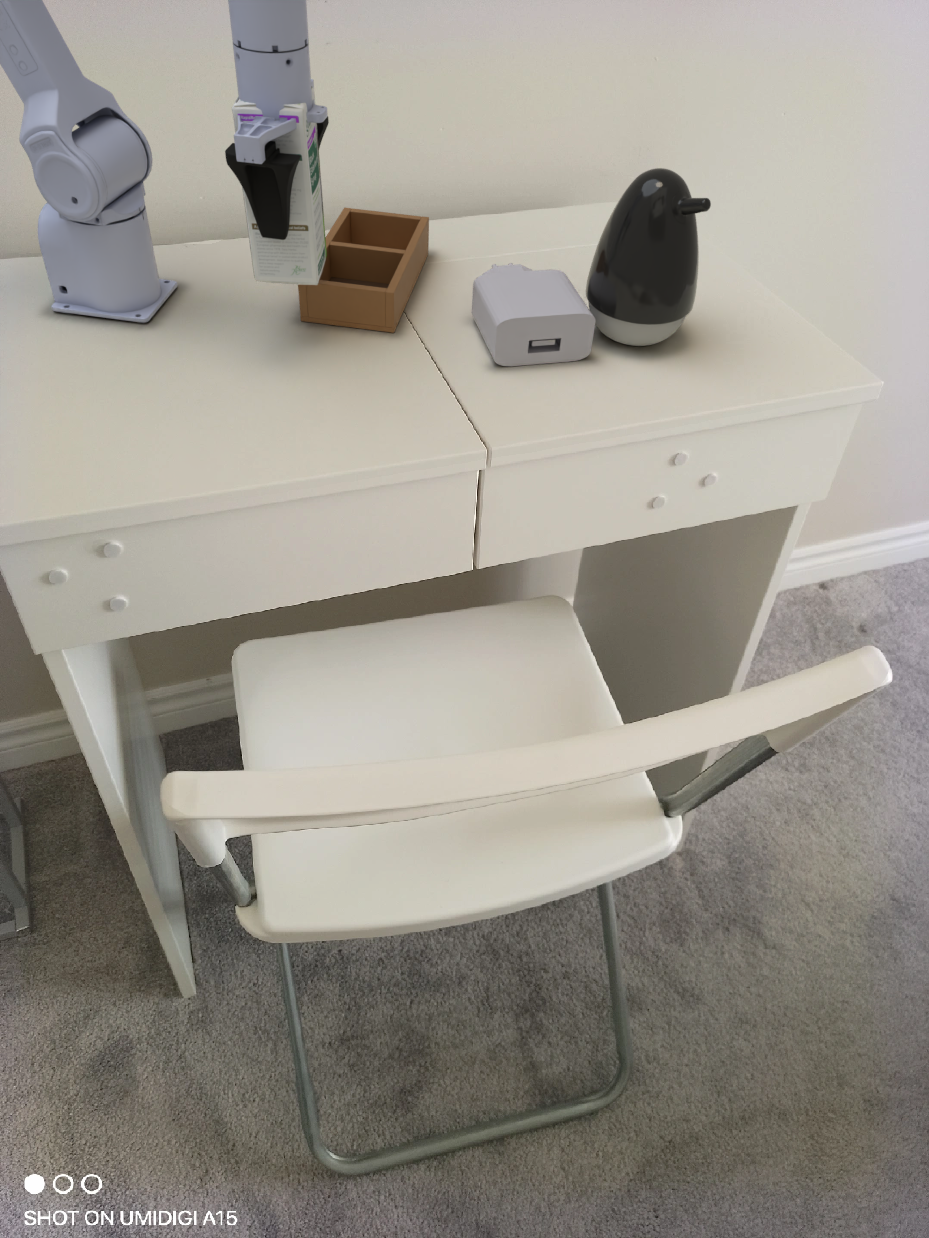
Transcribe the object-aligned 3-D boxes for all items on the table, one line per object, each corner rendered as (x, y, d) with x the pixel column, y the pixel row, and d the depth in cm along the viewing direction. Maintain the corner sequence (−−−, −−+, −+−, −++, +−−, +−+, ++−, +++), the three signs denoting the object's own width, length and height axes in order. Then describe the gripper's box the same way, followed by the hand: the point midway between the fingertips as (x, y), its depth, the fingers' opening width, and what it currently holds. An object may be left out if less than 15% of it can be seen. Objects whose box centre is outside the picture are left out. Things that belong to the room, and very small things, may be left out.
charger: (543, 285, 98) (589, 360, 88) (456, 291, 97) (493, 368, 86) (548, 240, 95) (597, 312, 85) (458, 245, 93) (497, 319, 83)
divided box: (300, 321, 91) (297, 281, 88) (345, 244, 103) (344, 207, 100) (394, 333, 90) (393, 293, 87) (428, 254, 102) (429, 217, 99)
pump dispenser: (638, 372, 87) (672, 204, 76) (558, 327, 92) (579, 163, 82) (708, 339, 92) (749, 177, 81) (628, 298, 97) (656, 140, 87)
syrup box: (319, 286, 83) (307, 106, 73) (251, 283, 83) (230, 102, 73) (327, 258, 87) (317, 83, 77) (262, 254, 87) (244, 79, 77)
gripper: (294, 76, 67) (307, 263, 76) (346, 23, 77) (352, 194, 87) (197, 65, 67) (222, 252, 77) (262, 14, 78) (277, 185, 87)
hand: (286, 221), depth 82 cm, fingers closed on syrup box, 6 cm apart
